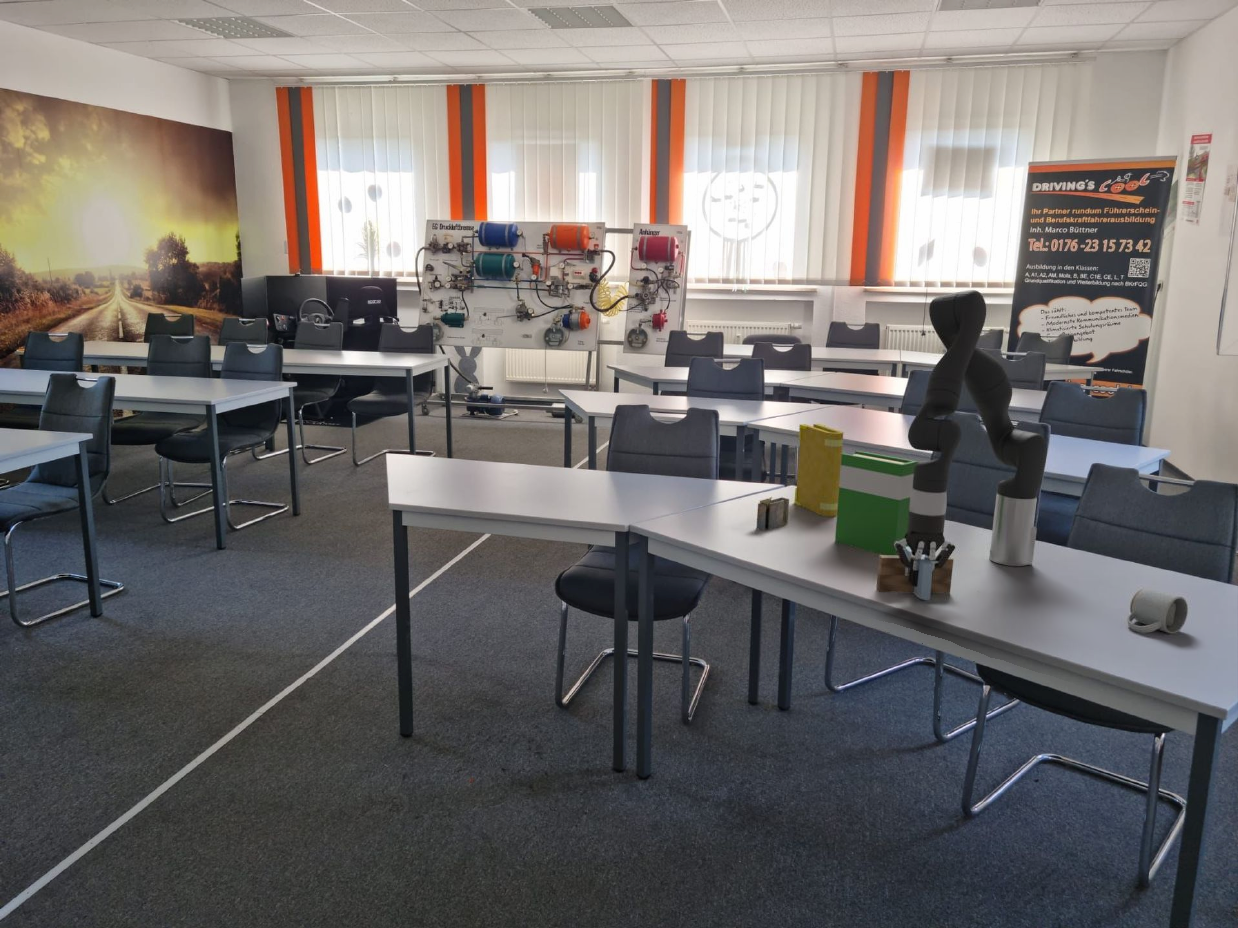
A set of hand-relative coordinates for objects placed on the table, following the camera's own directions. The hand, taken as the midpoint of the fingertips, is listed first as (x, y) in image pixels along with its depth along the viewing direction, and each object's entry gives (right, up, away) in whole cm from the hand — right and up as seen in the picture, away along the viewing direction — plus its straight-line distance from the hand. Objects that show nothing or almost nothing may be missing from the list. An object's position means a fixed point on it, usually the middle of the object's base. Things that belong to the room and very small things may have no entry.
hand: (920, 584), depth 195 cm
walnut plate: (0, -2, +4) cm, 5 cm away
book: (-6, +13, +75) cm, 76 cm away
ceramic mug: (+43, -7, -14) cm, 46 cm away
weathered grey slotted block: (-23, +9, +55) cm, 61 cm away
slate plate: (0, -1, +3) cm, 4 cm away
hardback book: (0, +5, +38) cm, 38 cm away
